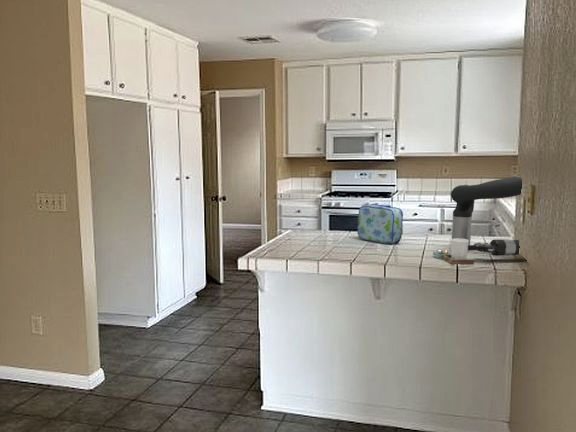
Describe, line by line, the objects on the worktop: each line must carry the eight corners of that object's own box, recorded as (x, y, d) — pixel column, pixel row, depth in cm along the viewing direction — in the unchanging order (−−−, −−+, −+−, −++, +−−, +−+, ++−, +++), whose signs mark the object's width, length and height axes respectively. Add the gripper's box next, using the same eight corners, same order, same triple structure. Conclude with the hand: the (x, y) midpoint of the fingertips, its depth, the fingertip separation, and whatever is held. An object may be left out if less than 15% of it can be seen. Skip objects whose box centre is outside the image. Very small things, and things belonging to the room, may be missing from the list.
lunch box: (404, 243, 284) (406, 205, 281) (392, 246, 277) (394, 206, 274) (367, 237, 303) (368, 201, 300) (355, 239, 296) (356, 202, 293)
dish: (432, 256, 251) (432, 251, 250) (446, 256, 252) (446, 251, 251) (438, 259, 244) (438, 254, 244) (452, 259, 245) (452, 254, 244)
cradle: (441, 259, 244) (441, 254, 244) (461, 258, 246) (462, 254, 245) (452, 264, 233) (452, 260, 232) (473, 264, 234) (474, 259, 234)
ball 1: (435, 255, 250) (434, 249, 249) (441, 253, 250) (440, 247, 249) (438, 257, 247) (437, 251, 246) (444, 255, 247) (443, 249, 246)
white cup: (465, 259, 243) (466, 238, 242) (469, 263, 235) (470, 241, 234) (448, 259, 244) (448, 238, 242) (452, 263, 236) (452, 241, 235)
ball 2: (441, 255, 248) (441, 249, 248) (447, 255, 248) (447, 249, 248) (443, 256, 245) (444, 250, 245) (449, 256, 245) (450, 250, 245)
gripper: (495, 237, 247) (461, 237, 245) (511, 242, 234) (474, 242, 232) (494, 252, 248) (460, 253, 246) (509, 258, 235) (473, 258, 233)
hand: (467, 247), depth 239 cm, fingers closed
